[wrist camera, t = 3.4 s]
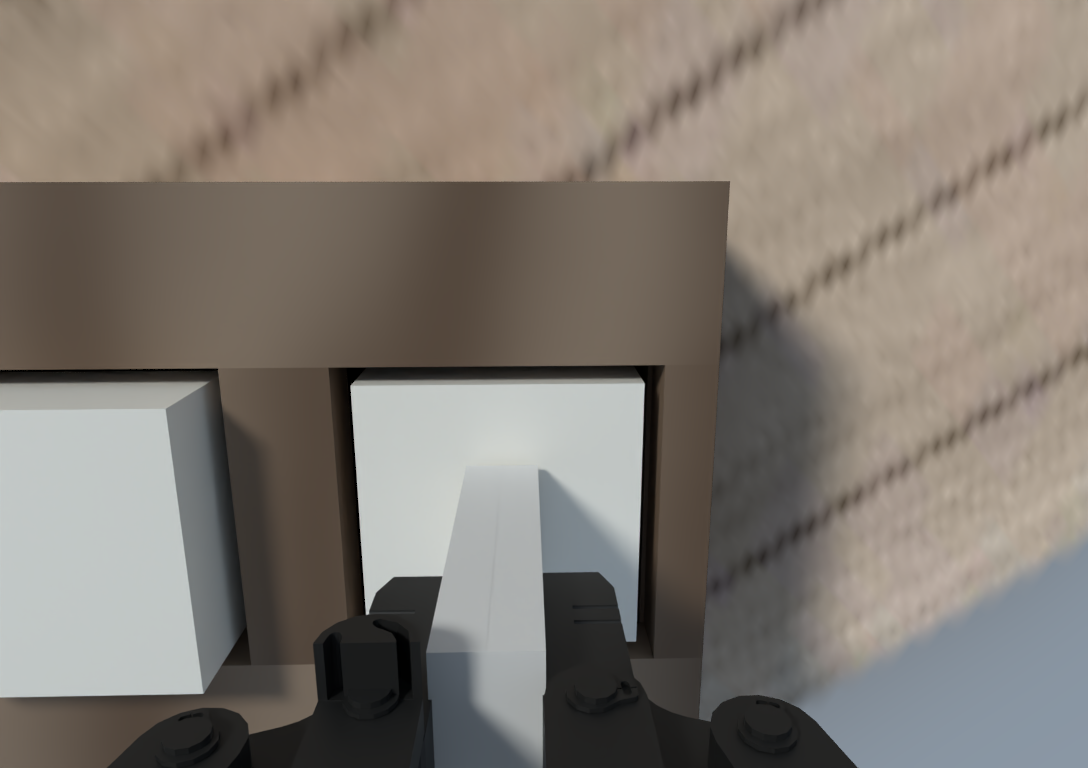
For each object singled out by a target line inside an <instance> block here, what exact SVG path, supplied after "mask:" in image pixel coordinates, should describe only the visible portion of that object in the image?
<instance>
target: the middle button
mask: <svg viewBox="0 0 1088 768" xmlns="http://www.w3.org/2000/svg"><path fill="white" fill-rule="evenodd" d="M246 626H247V623H246V614H245V605H244V596H243V587H242V578H241V570H240V561H239V552H238V543H237V534H236V525H235V516H234V508H233V499H232V490H231V481H230V472H229V463H228V455H227V446H226V437H225V428H224V419H223V410H222V401H221V393H220V384H219V375H218V371H94V372H0V697H56V696H112V695H169V694H204V692H205V690H206V689H207V687H208V686H209V684H210V683H211V681H212V680H213V678H214V676H215V675H216V673H217V672H218V670H219V669H220V667H221V665H222V664H223V662H224V661H225V659H226V658H227V656H228V654H229V653H230V651H231V650H232V648H233V647H234V645H235V643H236V642H237V640H238V639H239V637H240V636H241V634H242V632H243V631H244V629H245V628H246Z"/></svg>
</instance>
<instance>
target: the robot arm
mask: <svg viewBox="0 0 1088 768" xmlns="http://www.w3.org/2000/svg"><path fill="white" fill-rule="evenodd" d="M313 652H314V663H315V674H316V685H317V697H318V702H317V705H316V707H315V710H314V712H313V715H311V716H309V717H307V718H305V719H302V720H300V721H298V722H295V723H292V724H289V725H286V726H282V727H278V728H274V729H270V730H266V731H262V732H257V733H253V734H249V728H248V723H247V722H246V721H245V720H244V718H243V717H242V716H241V715H240V714H239V713H237V712H234V711H231V710H228V709H225V708H199V709H195V710H190V711H186V712H181V713H179V714H176V715H174V716H172V717H170V718H168V719H165V720H163V721H161V722H159V723H157V724H156V725H154V726H153V727H152V728H150V729H149V730H148V731H146V732H145V733H144V734H142V735H141V736H140V737H138V738H137V739H136V740H135V741H134V742H133V743H132V744H131V745H130V746H129V747H128V748H127V749H126V750H125V751H124V752H123V753H122V754H121V755H120V756H119V757H118V758H116V759H115V760H114V761H113V762H112V763H111V764H110V765H109V766H108V767H107V768H857V767H856V766H855V764H854V763H853V762H852V761H851V760H850V759H849V758H848V757H847V756H846V755H845V753H844V752H843V751H842V750H841V749H840V748H839V747H838V746H837V744H836V743H835V742H834V741H833V740H832V739H831V738H830V737H829V736H828V735H827V734H826V732H825V731H824V730H823V729H822V728H821V727H820V726H819V724H818V723H817V722H816V721H815V720H813V719H812V718H811V717H810V716H809V715H807V714H806V713H805V712H804V711H802V710H801V709H800V708H798V707H795V706H793V705H791V704H789V703H787V702H784V701H782V700H780V699H775V698H770V697H765V696H760V695H754V696H738V697H735V698H733V699H730V700H727V701H724V702H722V703H721V704H720V705H719V706H718V708H717V709H716V710H715V711H714V712H713V713H712V719H711V722H709V721H704V720H700V719H695V718H690V717H686V716H682V715H679V714H676V713H672V712H670V711H668V710H666V709H664V708H662V707H660V706H657V705H656V704H655V703H653V702H652V701H651V700H649V699H648V696H647V694H646V692H645V690H644V688H643V686H642V684H641V683H640V682H639V681H638V680H637V679H635V678H634V675H633V670H632V666H631V661H630V657H629V652H628V648H627V643H626V639H625V634H624V630H623V625H622V623H621V616H620V612H619V608H618V603H617V598H616V594H615V589H614V587H613V586H612V585H611V584H610V583H609V582H608V581H607V580H606V579H605V578H604V577H603V576H602V575H601V574H600V573H599V572H558V573H542V550H541V527H540V505H539V482H538V465H498V466H466V470H465V474H464V479H463V484H462V488H461V493H460V498H459V502H458V507H457V511H456V516H455V521H454V525H453V530H452V535H451V539H450V544H449V549H448V553H447V558H446V563H445V567H444V572H443V576H419V577H393V578H392V579H391V580H390V581H389V582H387V583H386V584H385V585H384V586H383V587H382V588H381V589H380V590H378V591H377V592H376V594H375V596H374V599H373V602H372V605H371V607H370V610H369V614H368V615H361V616H355V617H352V618H349V619H346V620H343V621H340V622H337V623H336V624H334V625H333V626H331V627H329V628H328V629H326V630H325V631H323V632H322V633H321V634H320V635H319V637H318V638H317V639H316V640H315V642H314V643H313Z"/></svg>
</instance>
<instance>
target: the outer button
mask: <svg viewBox="0 0 1088 768" xmlns="http://www.w3.org/2000/svg"><path fill="white" fill-rule="evenodd" d="M644 387H645V383H644V382H643V380H642V378H641V377H640V375H639V374H638V372H637V370H636V369H635V367H634V366H633V365H608V366H472V367H367V368H366V369H365V370H364V371H363V372H362V373H361V374H360V376H359V377H358V378H357V379H356V380H355V381H354V382H353V384H352V385H351V401H352V415H353V430H354V445H355V459H356V474H357V489H358V503H359V518H360V533H361V547H362V562H363V577H364V592H365V606H366V615H368V614H369V610H370V607H371V605H372V602H373V599H374V596H375V594H376V592H377V591H378V590H380V589H381V588H382V587H383V586H384V585H385V584H386V583H387V582H389V581H390V580H391V579H392V578H393V577H419V576H443V572H444V567H445V563H446V558H447V553H448V549H449V544H450V539H451V535H452V530H453V525H454V521H455V516H456V511H457V507H458V502H459V498H460V493H461V488H462V484H463V479H464V474H465V470H466V466H498V465H538V482H539V505H540V527H541V550H542V573H558V572H599V573H600V574H601V575H602V576H603V577H604V578H605V579H606V580H607V581H608V582H609V583H610V584H611V585H612V586H613V587H614V589H615V594H616V598H617V603H618V608H619V612H620V616H621V623H622V625H623V630H624V634H625V639H626V642H636V630H637V600H638V569H639V539H640V508H641V478H642V448H643V417H644Z"/></svg>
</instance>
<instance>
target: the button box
mask: <svg viewBox="0 0 1088 768" xmlns="http://www.w3.org/2000/svg"><path fill="white" fill-rule="evenodd" d="M729 188H730V181H694V182H0V370H61V369H198V368H218V375H219V384H220V393H221V401H222V410H223V419H224V428H225V437H226V446H227V455H228V463H229V472H230V481H231V490H232V499H233V508H234V516H235V525H236V534H237V543H238V552H239V561H240V570H241V578H242V587H243V596H244V605H245V614H246V623H247V626H246V628H245V629H244V631H243V632H242V634H241V636H240V637H239V639H238V640H237V642H236V643H235V645H234V647H233V648H232V650H231V651H230V653H229V654H228V656H227V658H226V659H225V661H224V662H223V664H222V665H221V667H220V669H219V670H218V672H217V673H216V675H215V676H214V678H213V680H212V681H211V683H210V684H209V686H208V687H207V689H206V690H205V692H204V694H169V695H112V696H56V697H0V768H107V767H108V766H109V765H110V764H111V763H112V762H113V761H114V760H115V759H116V758H118V757H119V756H120V755H121V754H122V753H123V752H124V751H125V750H126V749H127V748H128V747H129V746H130V745H131V744H132V743H133V742H134V741H135V740H136V739H137V738H138V737H140V736H141V735H142V734H144V733H145V732H146V731H148V730H149V729H150V728H152V727H153V726H154V725H156V724H157V723H159V722H161V721H163V720H165V719H168V718H170V717H172V716H174V715H176V714H179V713H181V712H186V711H190V710H195V709H199V708H225V709H228V710H231V711H234V712H237V713H239V714H240V715H241V716H242V717H243V718H244V720H245V721H246V722H247V723H248V728H249V734H253V733H257V732H262V731H266V730H270V729H274V728H278V727H282V726H286V725H289V724H292V723H295V722H298V721H300V720H302V719H305V718H307V717H309V716H311V715H313V712H314V710H315V707H316V705H317V702H318V697H317V685H316V674H315V663H314V652H313V643H314V642H315V640H316V639H317V638H318V637H319V635H320V634H321V633H322V632H323V631H325V630H326V629H328V628H329V627H331V626H333V625H334V624H336V623H337V622H340V621H343V620H346V619H349V618H352V617H355V616H361V615H366V606H365V605H363V598H362V583H361V569H360V554H359V540H358V525H357V511H356V496H355V482H354V467H353V453H352V438H351V424H350V409H349V395H348V380H347V367H472V366H608V365H633V366H634V367H635V369H636V370H637V372H638V374H639V375H640V377H641V378H642V380H643V382H644V383H645V387H644V417H643V448H642V478H641V508H640V539H639V569H638V600H637V630H636V642H626V643H627V648H628V652H629V657H630V661H631V666H632V670H633V675H634V678H635V679H637V680H638V681H639V682H640V683H641V684H642V686H643V688H644V690H645V692H646V694H647V696H648V699H649V700H651V701H652V702H653V703H655V704H656V705H657V706H660V707H662V708H664V709H666V710H668V711H670V712H672V713H676V714H679V715H682V716H686V717H690V718H695V719H699V704H700V687H701V670H702V653H703V635H704V618H705V601H706V584H707V567H708V549H709V532H710V515H711V498H712V481H713V463H714V446H715V429H716V412H717V395H718V377H719V360H720V343H721V326H722V309H723V291H724V274H725V257H726V240H727V223H728V205H729Z"/></svg>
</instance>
